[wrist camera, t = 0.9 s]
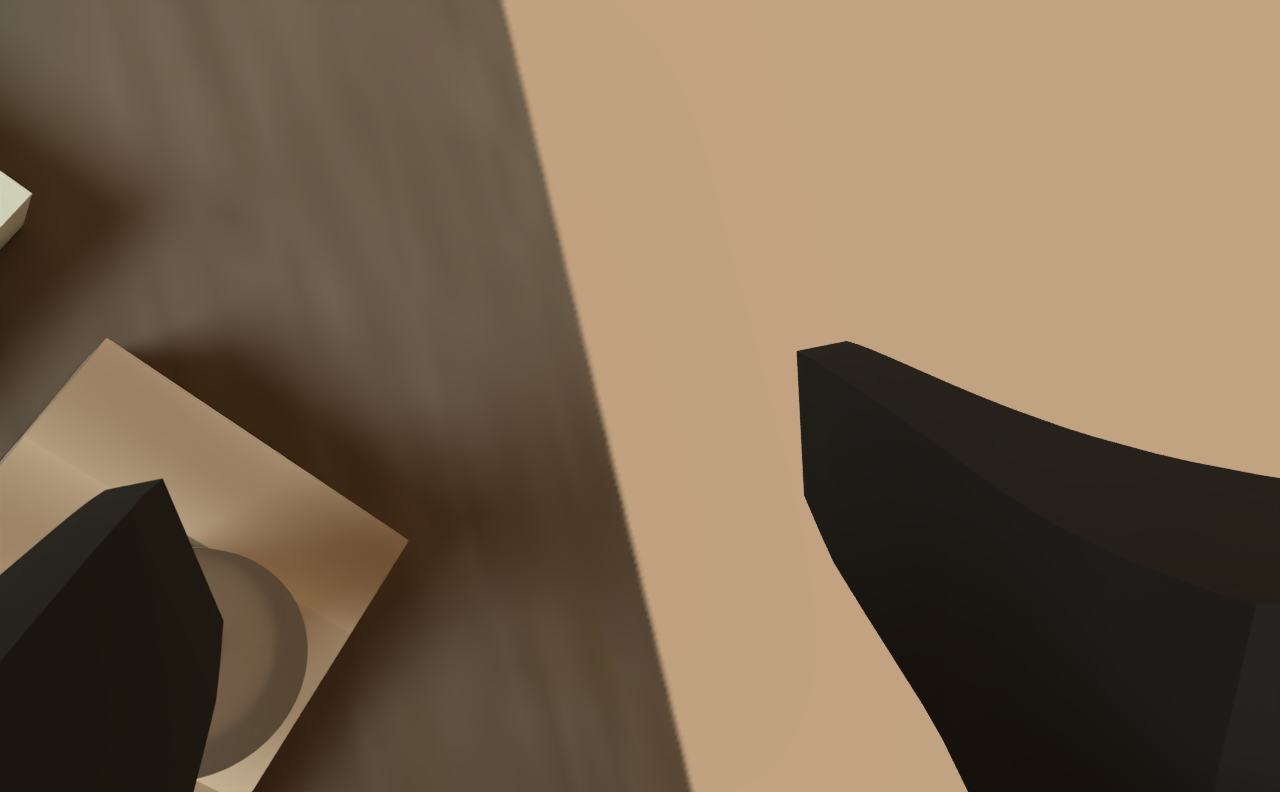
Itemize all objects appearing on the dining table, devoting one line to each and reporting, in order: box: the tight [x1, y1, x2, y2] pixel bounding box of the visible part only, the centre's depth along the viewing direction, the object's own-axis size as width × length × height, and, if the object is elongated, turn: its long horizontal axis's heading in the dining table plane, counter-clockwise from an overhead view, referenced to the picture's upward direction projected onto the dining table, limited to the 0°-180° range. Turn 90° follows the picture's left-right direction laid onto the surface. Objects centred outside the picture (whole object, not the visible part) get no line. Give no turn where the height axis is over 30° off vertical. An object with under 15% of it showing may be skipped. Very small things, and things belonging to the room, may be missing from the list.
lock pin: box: [192, 547, 308, 779], centre depth 18 cm, size 3×3×8 cm
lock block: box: [0, 338, 409, 792], centre depth 20 cm, size 8×7×3 cm
